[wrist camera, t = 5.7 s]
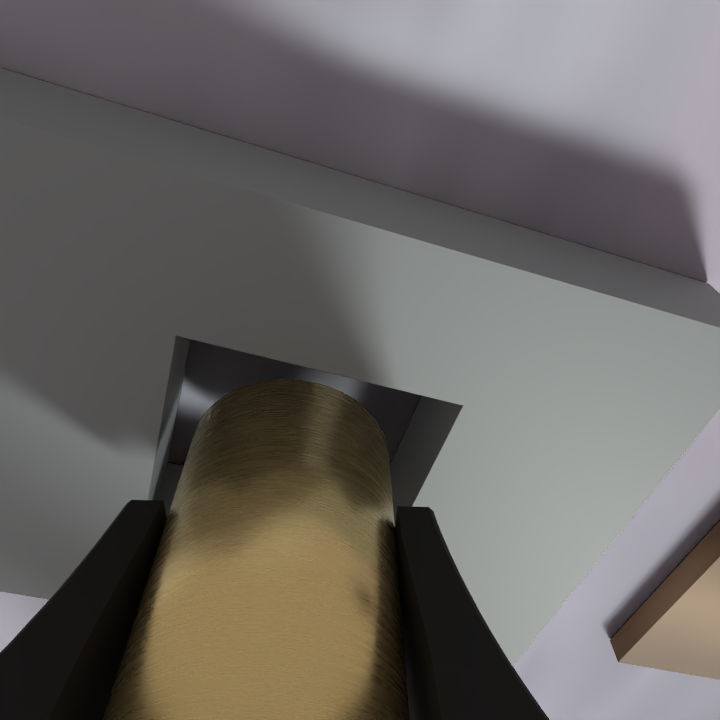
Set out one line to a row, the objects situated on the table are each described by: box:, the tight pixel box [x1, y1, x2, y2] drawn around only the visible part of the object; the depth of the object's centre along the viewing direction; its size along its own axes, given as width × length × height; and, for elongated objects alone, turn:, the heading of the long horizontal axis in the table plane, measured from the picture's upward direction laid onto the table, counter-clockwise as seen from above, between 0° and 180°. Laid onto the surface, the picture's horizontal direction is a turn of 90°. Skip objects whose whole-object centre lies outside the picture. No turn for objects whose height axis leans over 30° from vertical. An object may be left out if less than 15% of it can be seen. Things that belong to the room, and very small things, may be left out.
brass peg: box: [103, 379, 410, 720], centre depth 11 cm, size 4×4×7 cm
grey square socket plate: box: [0, 68, 720, 666], centre depth 15 cm, size 12×16×2 cm
